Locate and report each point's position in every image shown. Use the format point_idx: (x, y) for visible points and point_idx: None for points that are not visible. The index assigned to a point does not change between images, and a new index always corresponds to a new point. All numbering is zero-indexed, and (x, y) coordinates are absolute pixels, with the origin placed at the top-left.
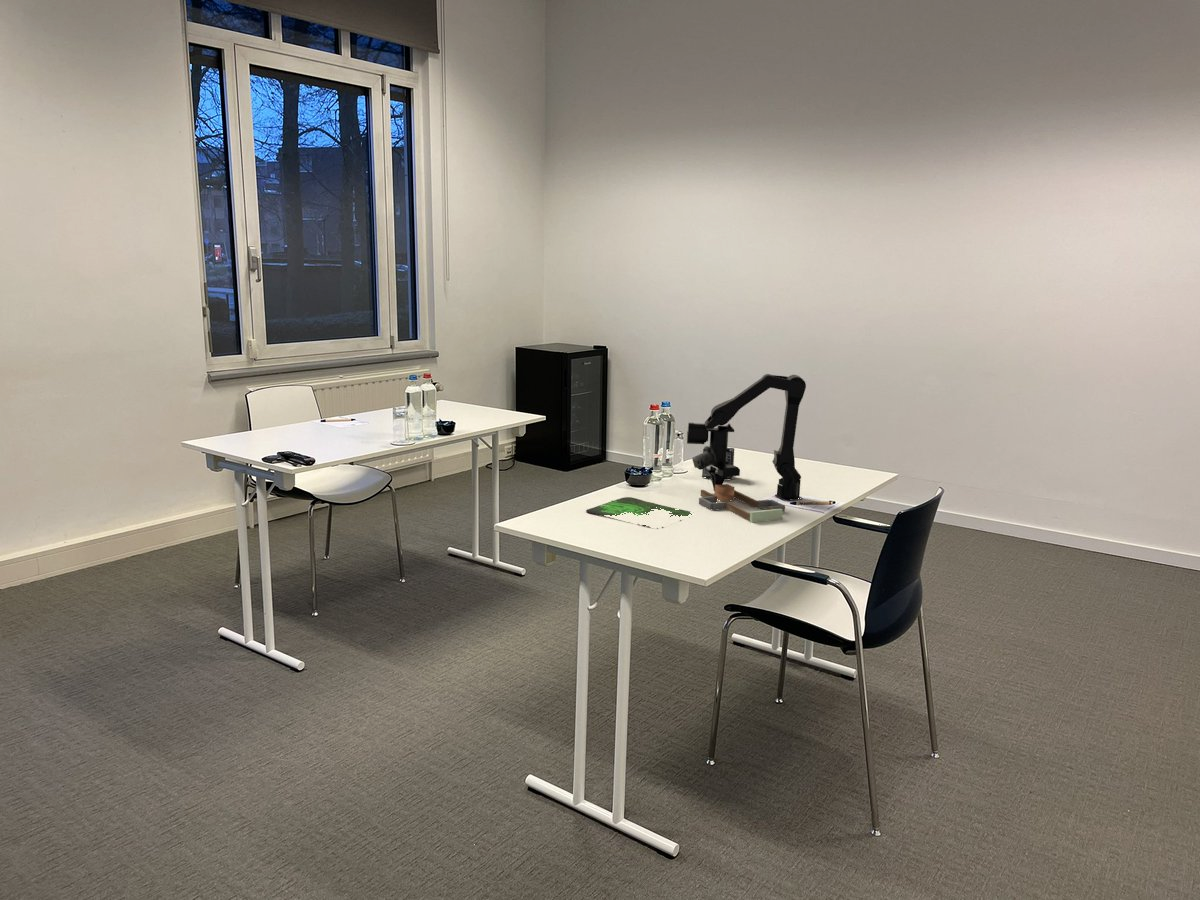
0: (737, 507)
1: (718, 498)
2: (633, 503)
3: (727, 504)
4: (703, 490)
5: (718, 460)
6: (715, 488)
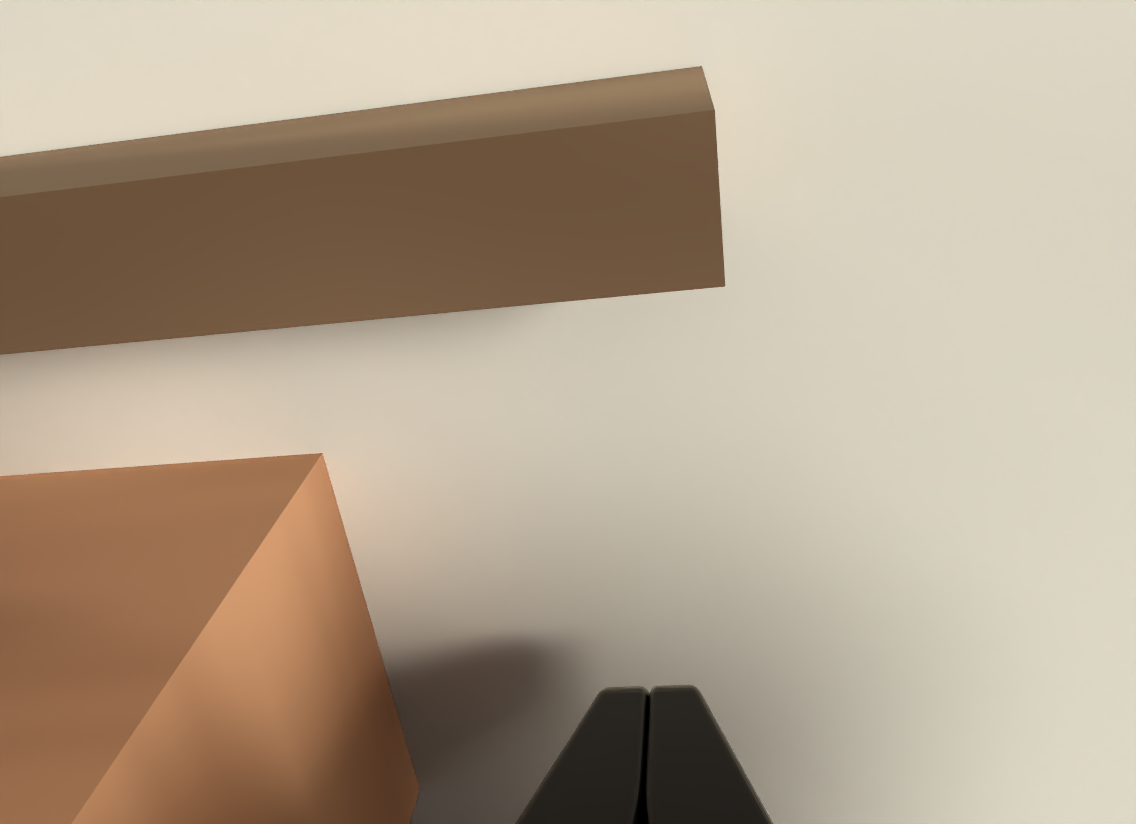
0: None
1: (34, 502)
2: None
3: None
4: (565, 216)
5: None
6: (80, 719)
